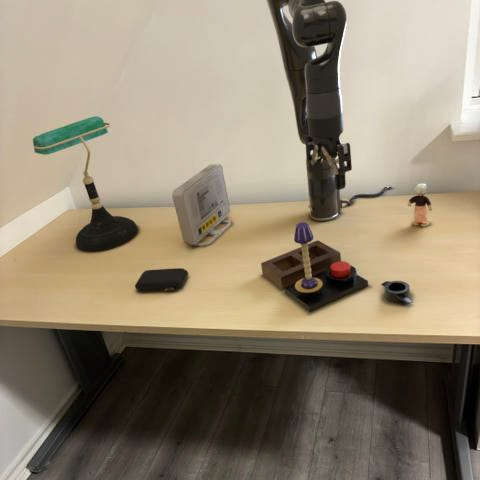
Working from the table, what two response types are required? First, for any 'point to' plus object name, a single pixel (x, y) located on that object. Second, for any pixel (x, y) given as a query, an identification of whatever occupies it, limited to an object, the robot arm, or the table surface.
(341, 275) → the switch button
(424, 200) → the grandmother figurine
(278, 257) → the rack
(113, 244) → the banker's lamp
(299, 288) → the brass plate
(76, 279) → the table surface
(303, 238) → the toy lamp
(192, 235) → the network device
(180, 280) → the carrying case
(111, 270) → the table surface
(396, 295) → the black winged round part
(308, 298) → the switch base
